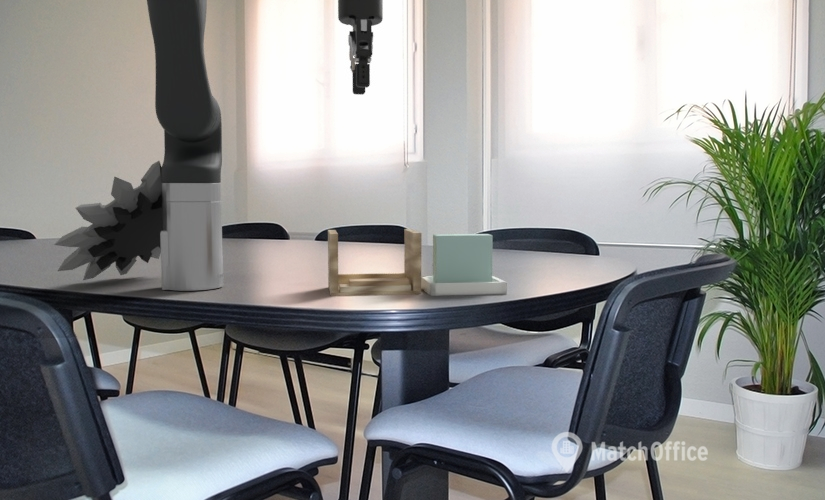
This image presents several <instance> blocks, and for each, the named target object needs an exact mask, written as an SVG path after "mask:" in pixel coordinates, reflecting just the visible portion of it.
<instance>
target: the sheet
mask: <svg viewBox="0 0 825 500" xmlns="http://www.w3.org/2000/svg"><path fill="white" fill-rule="evenodd" d="M493 238H494V235H493V234H490V233H455V234H452V233H451V234H450V233H448V234H447V233H446V234H445V233H444V234H441V233H440V234H432V276H433V282H434V283H463V282H492V276H493V254H494V253H493V252H494V251H493V248H494V247H493V245H494V244H493V243H494V242H493Z"/></svg>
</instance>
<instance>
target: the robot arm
mask: <svg viewBox="0 0 825 500" xmlns="http://www.w3.org/2000/svg"><path fill="white" fill-rule="evenodd" d="M207 1H208V0H146V4H147V12H148V17H149V23H150V28H151V29H150V30H151V33H152V34H151V35H152V39H153V44H154V58H155V97H154V99H155V100H154V103H155V104H154V107H155V109H154V110H155V114H156V115H155V116H156V118H157V120H158V123H159V124H160V126H161V127H162V129H163V131H164V133H163V134H164V136H163V137H164V155H163V156H164V157H163V162H162V165H161V167H162V168H161V180H162V182H163V183H162V201H163V202H162V205H163V230H162V231H161V232H160V246H161V253H160V270H161V271H160V272H161V273H160V275H161V276H160V277H161V290H162V291H179V292H180V291H182V292H184V291H185V292H186V291H187V292H190V291H191V292H192V291H205V290H215V289H218V288H222V287H224V264H223V263H224V262H223V260H224V258H223V223H222V222H223V221H222V220H223V217H222V215H223V213H222V182H221V180H222V178H221V177H222V176H221V175H222V174H221V173H222V167H223V166H222V165H223V163H222V162H223V138H222V137H223V126H222V111H221V108H220V105H219V103H218V100H217V99H216V98H215V97H214V95H213V94H212V89H211V85H210V82H209V76H208V71H207V66H206V65H207V64H206V58H205V48H204V45H205V42H204V39H205V29H206V21H207V10H208V9H207V3H208V2H207ZM383 4H384V3H383V0H337V14H338V16H337V19H338V21H339V22H340V23H341V24H343V25H346V26H350V27H352V30H351V31H349V33H348V36H347V37H348V40H347V41H348V43H347V44H348V46H349V52H348V55H349V57H348V58H349V61H350V67H349V69H350V71H351V73H352V93H353V94H354V95H365V93H366V88H368V87H370V86H371V80H370V79H371V77H370V76H371V75H370V73H371V71H370V70H371V68H370V67H371V65H370V64H371V63H372V56H373V52H374V51H373V48H374V45H373V42H374V31H372V27H373V26H376V25H379V24H381V23H382V21H383V20H384V19H383V13H384V12H383V10H384V9H383Z"/></svg>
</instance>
